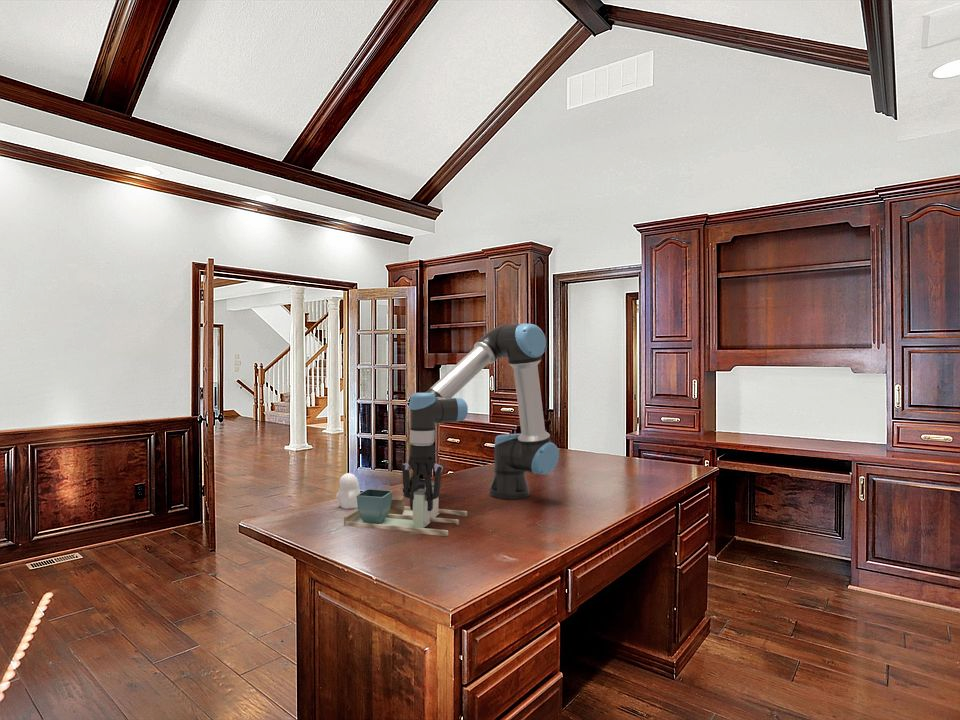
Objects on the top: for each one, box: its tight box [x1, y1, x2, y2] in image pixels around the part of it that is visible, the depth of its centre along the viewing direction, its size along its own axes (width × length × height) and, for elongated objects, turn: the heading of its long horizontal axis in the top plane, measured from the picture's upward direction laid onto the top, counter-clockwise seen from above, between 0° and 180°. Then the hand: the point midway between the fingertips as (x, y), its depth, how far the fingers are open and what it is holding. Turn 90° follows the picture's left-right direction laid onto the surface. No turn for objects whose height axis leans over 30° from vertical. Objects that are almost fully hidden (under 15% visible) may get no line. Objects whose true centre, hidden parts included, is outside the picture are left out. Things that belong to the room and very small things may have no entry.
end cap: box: [402, 476, 425, 499], centre depth 207 cm, size 10×7×7 cm
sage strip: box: [356, 489, 431, 528], centre depth 172 cm, size 22×10×11 cm, turn 76°
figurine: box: [336, 472, 361, 510], centre depth 191 cm, size 7×8×12 cm
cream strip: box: [402, 480, 441, 518], centre depth 183 cm, size 22×8×11 cm, turn 76°
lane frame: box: [343, 505, 468, 537], centre depth 176 cm, size 33×22×3 cm
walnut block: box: [388, 495, 405, 515], centre depth 184 cm, size 5×5×5 cm
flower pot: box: [357, 488, 394, 524], centre depth 174 cm, size 9×9×9 cm
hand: (421, 520), depth 170 cm, fingers closed on sage strip, 3 cm apart
